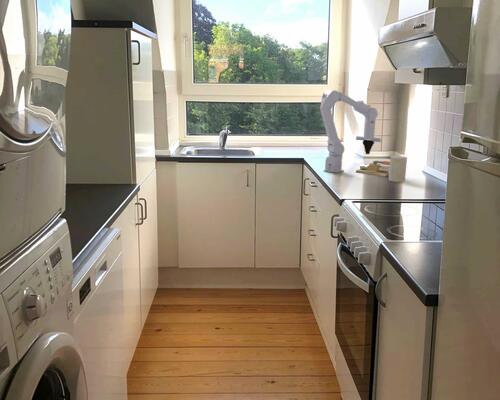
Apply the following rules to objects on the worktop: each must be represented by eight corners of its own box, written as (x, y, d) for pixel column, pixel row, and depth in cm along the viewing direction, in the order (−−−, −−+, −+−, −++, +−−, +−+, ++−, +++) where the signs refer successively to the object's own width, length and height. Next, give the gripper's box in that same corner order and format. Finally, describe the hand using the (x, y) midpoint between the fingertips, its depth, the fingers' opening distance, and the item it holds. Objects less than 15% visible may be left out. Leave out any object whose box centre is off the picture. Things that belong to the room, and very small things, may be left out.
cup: (393, 182, 281) (395, 158, 278) (385, 179, 289) (387, 156, 286) (408, 181, 283) (410, 158, 281) (399, 178, 291) (401, 155, 288)
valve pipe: (386, 174, 299) (387, 166, 299) (359, 170, 309) (359, 162, 308) (389, 173, 303) (390, 165, 302) (362, 169, 312) (362, 162, 311)
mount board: (384, 176, 297) (385, 174, 297) (355, 172, 307) (355, 170, 307) (392, 174, 305) (392, 171, 305) (363, 170, 315) (364, 168, 314)
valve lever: (372, 163, 305) (372, 160, 304) (374, 163, 306) (374, 159, 306) (392, 166, 297) (392, 162, 296) (394, 166, 299) (394, 162, 298)
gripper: (384, 130, 308) (382, 154, 311) (360, 128, 316) (358, 152, 319) (379, 130, 302) (377, 155, 305) (354, 128, 311) (353, 153, 314)
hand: (367, 154), depth 312 cm, fingers closed
